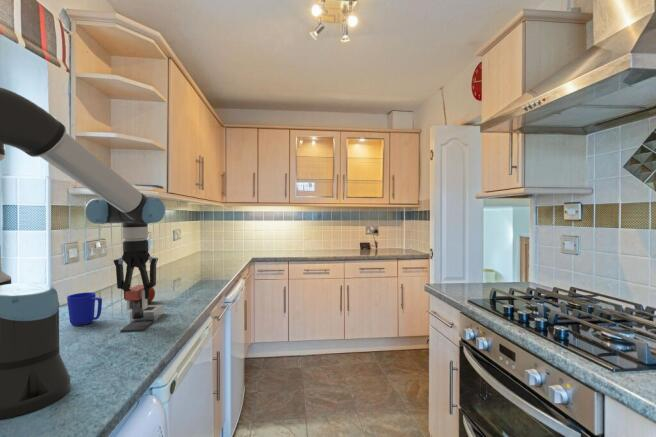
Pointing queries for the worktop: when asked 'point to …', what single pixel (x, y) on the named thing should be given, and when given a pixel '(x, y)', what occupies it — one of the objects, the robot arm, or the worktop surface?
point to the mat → (136, 326)
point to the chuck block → (150, 313)
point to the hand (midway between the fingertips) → (137, 308)
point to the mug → (83, 308)
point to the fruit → (152, 294)
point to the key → (135, 301)
